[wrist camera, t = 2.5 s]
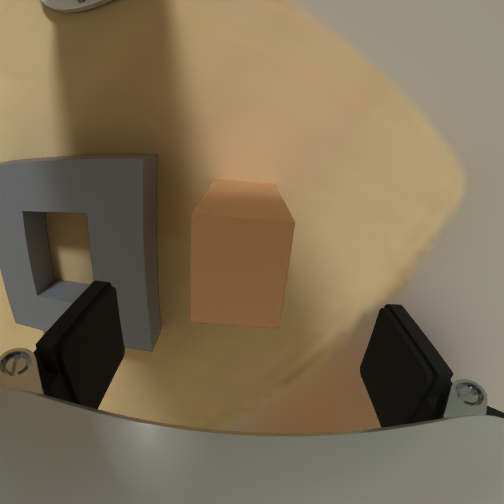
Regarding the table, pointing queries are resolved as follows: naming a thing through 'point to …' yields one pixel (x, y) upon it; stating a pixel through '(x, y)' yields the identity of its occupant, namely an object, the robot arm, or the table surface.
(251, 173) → the table surface
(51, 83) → the table surface
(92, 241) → the socket plate
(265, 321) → the plug
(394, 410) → the robot arm
